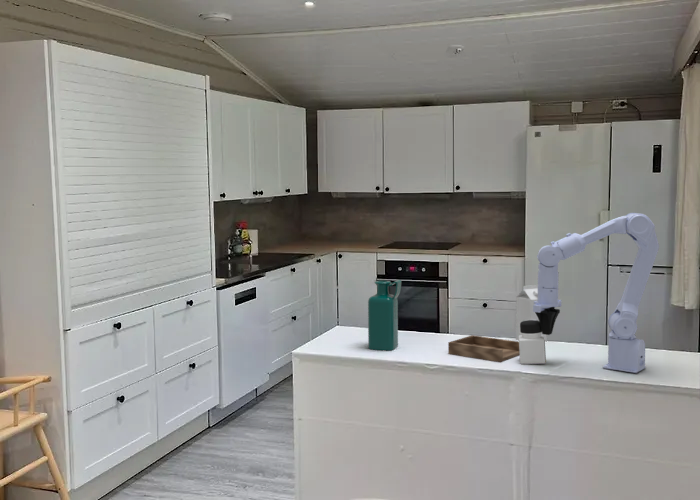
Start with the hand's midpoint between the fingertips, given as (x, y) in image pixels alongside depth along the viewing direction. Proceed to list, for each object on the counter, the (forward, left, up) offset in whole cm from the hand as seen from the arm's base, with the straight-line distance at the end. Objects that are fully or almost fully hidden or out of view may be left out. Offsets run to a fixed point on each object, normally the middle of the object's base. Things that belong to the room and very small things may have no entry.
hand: (547, 334), depth 203 cm
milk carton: (+17, -25, -9) cm, 31 cm away
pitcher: (+49, +13, -9) cm, 52 cm away
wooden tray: (+20, 0, -9) cm, 22 cm away
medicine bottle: (+4, +1, -9) cm, 10 cm away
